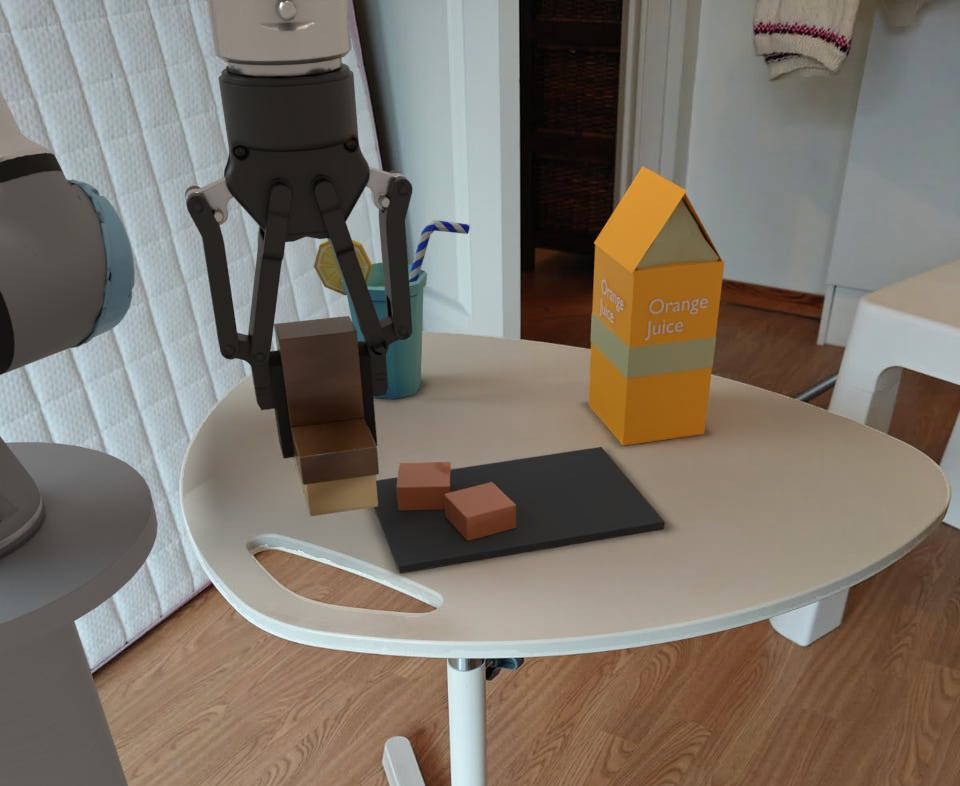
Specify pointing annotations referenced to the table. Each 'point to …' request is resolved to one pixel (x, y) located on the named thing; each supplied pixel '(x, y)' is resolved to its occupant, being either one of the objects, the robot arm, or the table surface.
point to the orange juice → (653, 315)
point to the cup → (401, 353)
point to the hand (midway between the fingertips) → (327, 443)
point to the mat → (522, 510)
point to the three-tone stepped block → (328, 414)
